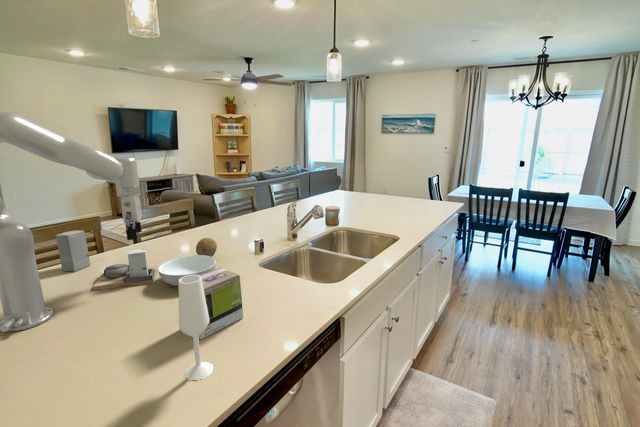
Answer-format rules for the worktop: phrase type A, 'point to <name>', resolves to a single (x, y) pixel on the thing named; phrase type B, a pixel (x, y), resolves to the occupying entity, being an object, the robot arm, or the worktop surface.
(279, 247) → the worktop surface
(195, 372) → the champagne flute
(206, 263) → the serving bowl
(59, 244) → the skincare box
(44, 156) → the robot arm
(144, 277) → the board
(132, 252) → the skincare box
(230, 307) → the tea box
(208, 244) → the natural sponge
